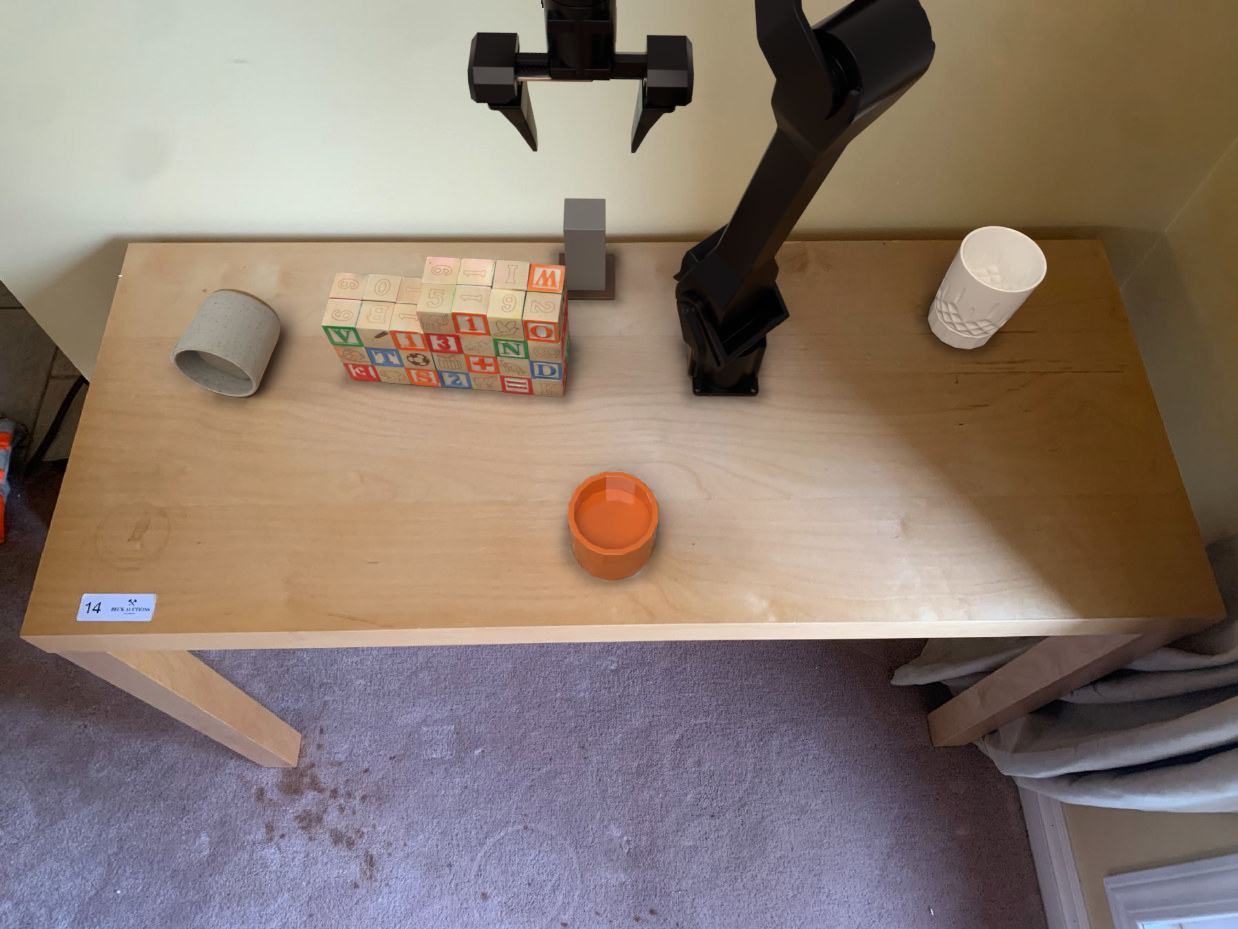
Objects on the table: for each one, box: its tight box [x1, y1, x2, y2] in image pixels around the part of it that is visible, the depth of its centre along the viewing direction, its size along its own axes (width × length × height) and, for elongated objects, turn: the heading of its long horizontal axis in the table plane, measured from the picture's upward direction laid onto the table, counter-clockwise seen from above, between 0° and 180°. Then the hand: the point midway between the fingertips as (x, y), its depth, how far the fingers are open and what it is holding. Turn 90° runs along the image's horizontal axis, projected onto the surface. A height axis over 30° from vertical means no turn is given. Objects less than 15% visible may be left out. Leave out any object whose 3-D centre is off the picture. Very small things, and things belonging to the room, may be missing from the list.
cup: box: [567, 471, 659, 581], centre depth 67 cm, size 7×7×6 cm
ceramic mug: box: [169, 288, 282, 398], centre depth 74 cm, size 11×8×8 cm
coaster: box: [558, 252, 616, 301], centre depth 83 cm, size 6×6×1 cm
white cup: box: [927, 225, 1048, 350], centre depth 77 cm, size 8×8×10 cm
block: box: [562, 197, 607, 291], centre depth 79 cm, size 4×4×9 cm
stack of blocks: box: [321, 256, 571, 398], centre depth 73 cm, size 21×6×12 cm, turn 86°
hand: (584, 149), depth 74 cm, fingers open, 9 cm apart
